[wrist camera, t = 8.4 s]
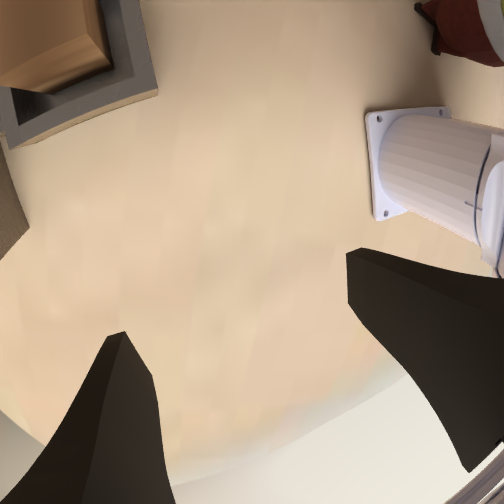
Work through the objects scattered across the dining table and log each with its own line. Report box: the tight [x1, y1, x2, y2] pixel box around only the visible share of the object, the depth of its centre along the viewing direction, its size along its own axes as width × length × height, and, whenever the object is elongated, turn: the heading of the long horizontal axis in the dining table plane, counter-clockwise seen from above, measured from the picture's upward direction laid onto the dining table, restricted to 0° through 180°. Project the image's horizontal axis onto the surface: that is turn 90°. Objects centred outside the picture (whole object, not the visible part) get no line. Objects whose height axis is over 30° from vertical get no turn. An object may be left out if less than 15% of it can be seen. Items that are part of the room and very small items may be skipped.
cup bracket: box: [0, 0, 158, 260], centre depth 9 cm, size 11×16×5 cm
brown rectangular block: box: [0, 0, 115, 95], centre depth 8 cm, size 4×4×7 cm
